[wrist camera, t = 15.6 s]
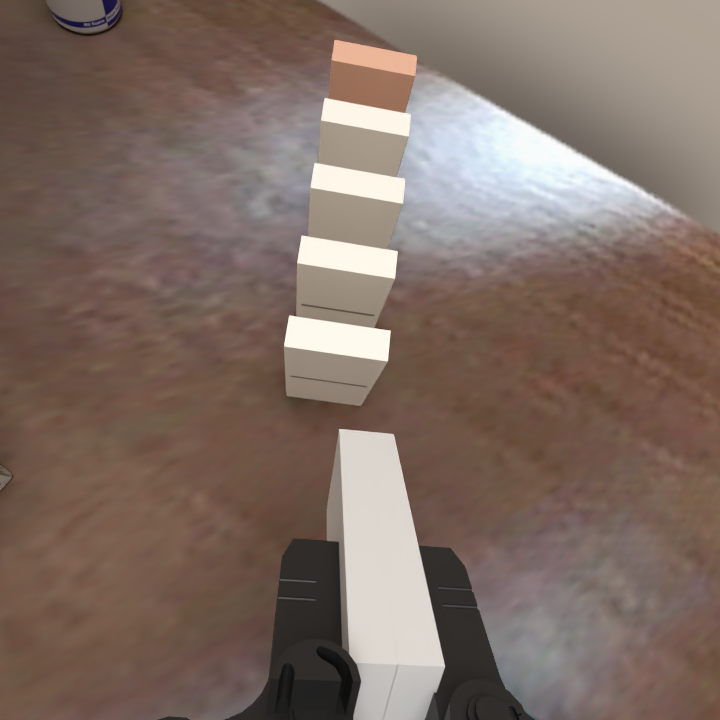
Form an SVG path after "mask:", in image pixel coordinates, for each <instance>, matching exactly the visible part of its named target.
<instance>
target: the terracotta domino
mask: <svg viewBox="0 0 720 720" xmlns="http://www.w3.org/2000/svg"><path fill="white" fill-rule="evenodd" d="M416 61H417V56H415V55H410V54H405V53H400V52H394V51H389V50H384V49H379V48H374V47H369V46H364V45H359V44H354V43H348V42H343V41H338V40H335V42H334V49H333V55H332V62H331V74H330V86H329V97H328V99H333V100H338V101H343V102H349V103H354V104H359V105H365V106H370V107H375V108H380V109H386V110H391V111H396V112H401V113H405V111H406V107H407V104H408V100H409V96H410V93H411V89H412V86H413V82H414V78H415V72H416Z"/></svg>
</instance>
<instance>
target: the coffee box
mask: <svg viewBox="0 0 720 720" xmlns="http://www.w3.org/2000/svg"><path fill="white" fill-rule="evenodd" d="M11 478H12V474H11V473H10V472H9V471H8V470H7V469H5V468H4V467H3V466H2V465H1V464H0V490H1V489H2V488H3V487H4V486H5V485H6V484H7V483H8V482H9V481H10V480H11Z"/></svg>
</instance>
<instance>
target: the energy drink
mask: <svg viewBox="0 0 720 720" xmlns="http://www.w3.org/2000/svg"><path fill="white" fill-rule="evenodd" d="M45 1H46V3H47V5H48V7H49V9H50V12H51V14H52V15H53V17H54V19H55V20H56V21H57V22H58V23H59V24H61V25H62V26H64V27H65V28H67V29H69V30H72V31H74V32H78V33H84V34H93V33H99V32H102V31H105V30H107V29H109V28H110V27H111V26H113V25H114V24H115V23H116V21H117V20H118V18H119V16H120V14H121V10H122V6H121V1H120V0H45Z"/></svg>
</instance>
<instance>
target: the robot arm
mask: <svg viewBox="0 0 720 720" xmlns="http://www.w3.org/2000/svg"><path fill="white" fill-rule="evenodd" d="M159 720H189V719H188V718H182V717H165V718H162V719H159ZM225 720H535V719H534V718H533V717H531V716H530V715H529V714H527V713H526V712H525V711H524V709H523V707H522V705H521V704H520V703H519V702H518V701H517V700H516V699H515V697H514V696H513V695H512V694H511V693H510V692H509V691H507V690H506V689H505V687H504V685H503V682H502V680H501V678H500V675H499V672H498V669H497V666H496V662H495V659H494V656H493V653H492V650H491V647H490V644H489V640H488V637H487V634H486V631H485V628H484V625H483V622H482V618H481V615H480V612H479V610H477V603H476V600H475V596H474V593H473V592H472V587H471V584H470V581H469V577H468V574H467V571H466V568H465V566H464V565H463V563H462V562H461V561H460V560H459V558H458V557H457V556H456V555H455V553H454V552H453V551H452V549H451V548H442V547H427V546H418V542H417V537H416V533H415V528H414V524H413V519H412V515H411V510H410V506H409V501H408V497H407V492H406V488H405V483H404V479H403V474H402V470H401V465H400V461H399V456H398V452H397V447H396V443H395V438H394V434H387V433H376V432H366V431H356V430H345V429H339V434H338V441H337V447H336V453H335V460H334V466H333V472H332V479H331V485H330V491H329V498H328V504H327V541H322V540H307V539H293V540H292V542H291V543H290V545H289V547H288V548H287V550H286V551H285V553H284V554H283V556H282V562H281V571H280V579H279V588H278V596H277V604H276V614H275V623H274V633H273V643H272V652H271V662H270V671H269V678H268V682H267V684H266V686H265V688H264V690H263V692H262V693H261V695H260V696H259V697H258V698H257V699H256V701H255V702H254V703H253V704H252V705H250V706H249V707H248V708H247V709H245V710H244V711H243V712H241V713H239V714H237V715H235V716H232V717H230V718H228V719H225Z"/></svg>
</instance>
